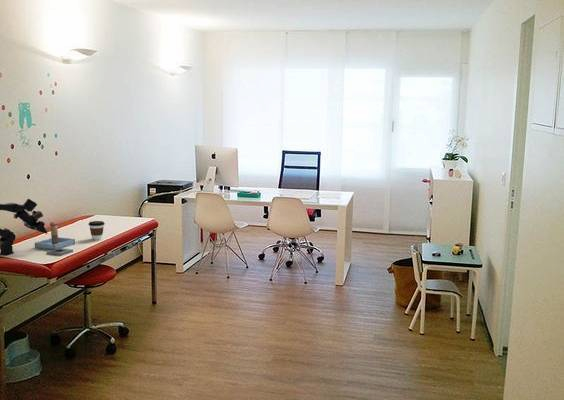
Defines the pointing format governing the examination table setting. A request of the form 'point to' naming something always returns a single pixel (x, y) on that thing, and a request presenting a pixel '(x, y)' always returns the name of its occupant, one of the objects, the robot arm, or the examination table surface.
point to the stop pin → (54, 232)
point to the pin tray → (48, 244)
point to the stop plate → (59, 251)
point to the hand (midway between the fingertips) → (43, 232)
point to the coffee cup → (96, 229)
